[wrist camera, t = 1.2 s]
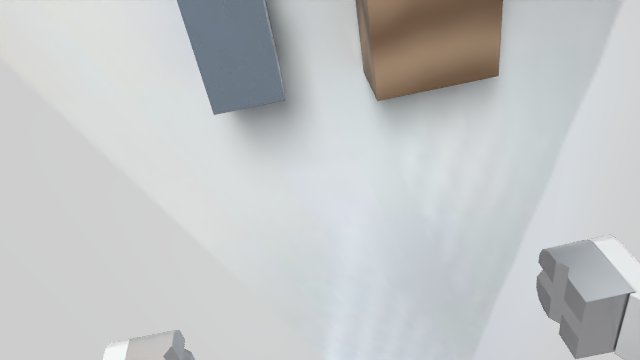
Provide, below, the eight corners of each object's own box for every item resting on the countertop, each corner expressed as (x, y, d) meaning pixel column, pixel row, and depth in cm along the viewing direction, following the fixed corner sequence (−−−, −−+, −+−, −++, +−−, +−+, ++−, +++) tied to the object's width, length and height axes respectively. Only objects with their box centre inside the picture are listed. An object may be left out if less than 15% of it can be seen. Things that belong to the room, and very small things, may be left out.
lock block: (184, -28, 35) (176, -2, 31) (255, -42, 35) (258, -18, 31) (216, 77, 40) (214, 114, 35) (279, 64, 40) (285, 100, 35)
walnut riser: (344, -93, 34) (366, -72, 29) (477, -119, 34) (524, -104, 29) (363, 72, 41) (383, 114, 36) (473, 49, 41) (510, 88, 36)
